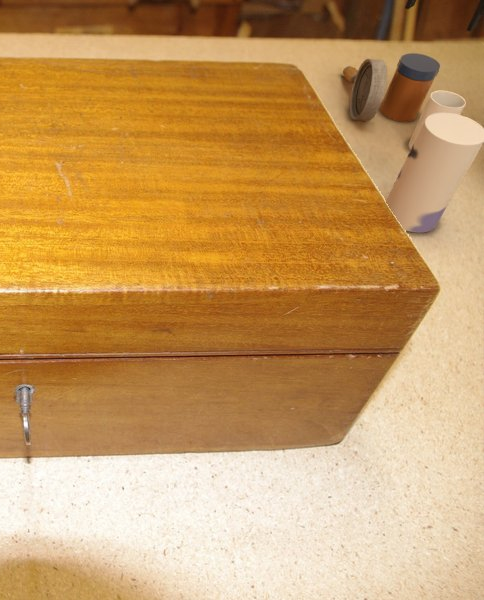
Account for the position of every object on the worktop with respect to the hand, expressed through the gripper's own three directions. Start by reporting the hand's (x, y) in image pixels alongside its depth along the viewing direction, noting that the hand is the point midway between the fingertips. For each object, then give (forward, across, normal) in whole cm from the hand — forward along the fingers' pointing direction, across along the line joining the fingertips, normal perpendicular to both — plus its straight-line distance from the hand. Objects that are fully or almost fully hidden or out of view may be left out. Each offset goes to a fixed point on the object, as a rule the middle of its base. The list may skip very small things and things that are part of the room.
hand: (439, 17), depth 145 cm
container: (+23, -20, +33) cm, 44 cm away
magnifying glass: (+22, +9, +4) cm, 24 cm away
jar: (+22, 0, 0) cm, 22 cm away
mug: (+23, -10, +8) cm, 26 cm away
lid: (+10, 0, 0) cm, 10 cm away
